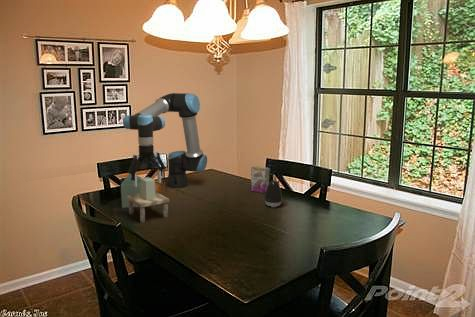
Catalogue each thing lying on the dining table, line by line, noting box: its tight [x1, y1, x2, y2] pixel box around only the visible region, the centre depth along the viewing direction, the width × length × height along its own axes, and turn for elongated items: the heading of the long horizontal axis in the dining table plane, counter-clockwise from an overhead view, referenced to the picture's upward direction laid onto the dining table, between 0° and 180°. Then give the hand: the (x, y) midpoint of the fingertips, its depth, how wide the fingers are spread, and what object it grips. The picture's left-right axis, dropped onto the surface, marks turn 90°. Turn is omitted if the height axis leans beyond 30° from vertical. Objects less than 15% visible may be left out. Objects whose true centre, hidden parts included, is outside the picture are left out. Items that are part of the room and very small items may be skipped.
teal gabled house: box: [120, 173, 141, 209], centre depth 232 cm, size 16×8×20 cm, turn 150°
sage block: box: [140, 176, 156, 200], centre depth 214 cm, size 5×8×10 cm, turn 36°
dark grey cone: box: [264, 180, 283, 208], centre depth 233 cm, size 10×10×15 cm
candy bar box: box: [250, 165, 270, 194], centre depth 261 cm, size 11×5×16 cm, turn 58°
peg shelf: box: [127, 191, 170, 223], centre depth 216 cm, size 16×18×10 cm
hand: (147, 184), depth 213 cm, fingers open, 13 cm apart
